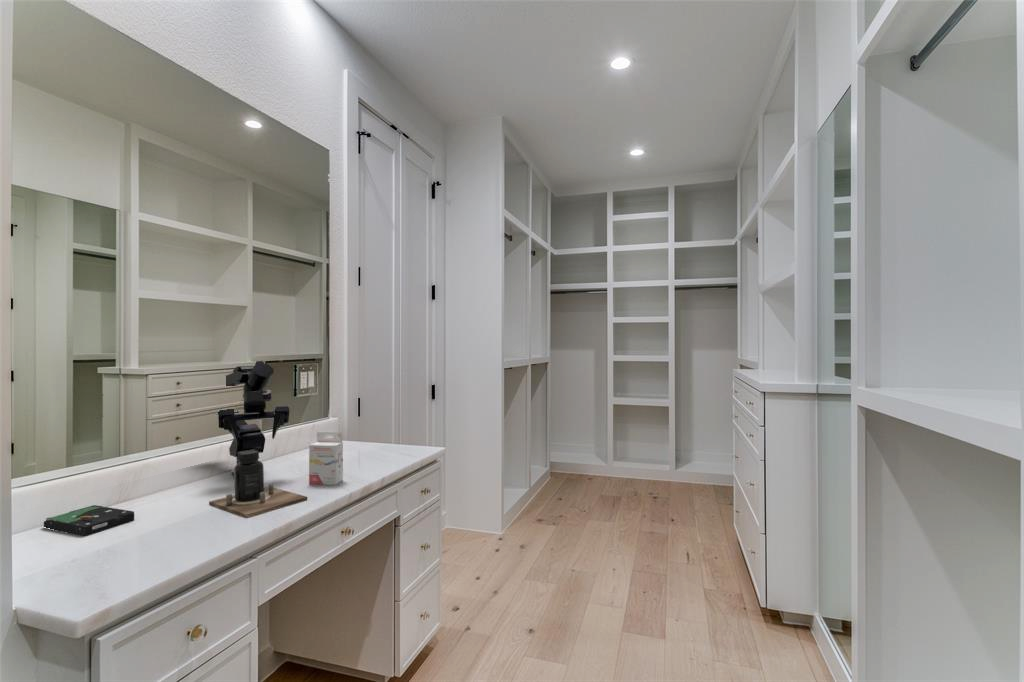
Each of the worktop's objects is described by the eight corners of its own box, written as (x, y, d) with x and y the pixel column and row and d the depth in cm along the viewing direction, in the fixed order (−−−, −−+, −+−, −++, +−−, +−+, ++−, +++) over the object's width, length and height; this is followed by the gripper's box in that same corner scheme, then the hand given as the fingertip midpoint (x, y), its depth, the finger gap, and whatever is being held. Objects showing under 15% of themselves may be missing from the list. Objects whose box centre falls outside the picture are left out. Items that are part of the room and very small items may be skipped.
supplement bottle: (268, 493, 132) (267, 449, 132) (258, 501, 125) (257, 454, 125) (241, 495, 131) (240, 450, 131) (229, 503, 124) (229, 456, 124)
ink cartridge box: (308, 484, 144) (307, 434, 144) (316, 479, 149) (316, 431, 149) (336, 485, 143) (335, 434, 143) (343, 480, 148) (343, 431, 148)
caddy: (209, 504, 126) (209, 491, 126) (269, 489, 139) (268, 477, 139) (246, 517, 116) (246, 503, 116) (307, 499, 129) (307, 487, 129)
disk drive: (135, 523, 115) (94, 515, 120) (135, 511, 115) (94, 503, 120) (85, 539, 105) (41, 530, 110) (85, 526, 105) (41, 518, 110)
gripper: (218, 382, 142) (217, 425, 132) (288, 379, 151) (292, 419, 142) (219, 406, 149) (218, 449, 139) (286, 402, 158) (290, 442, 148)
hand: (255, 439), depth 142 cm, fingers open, 9 cm apart
